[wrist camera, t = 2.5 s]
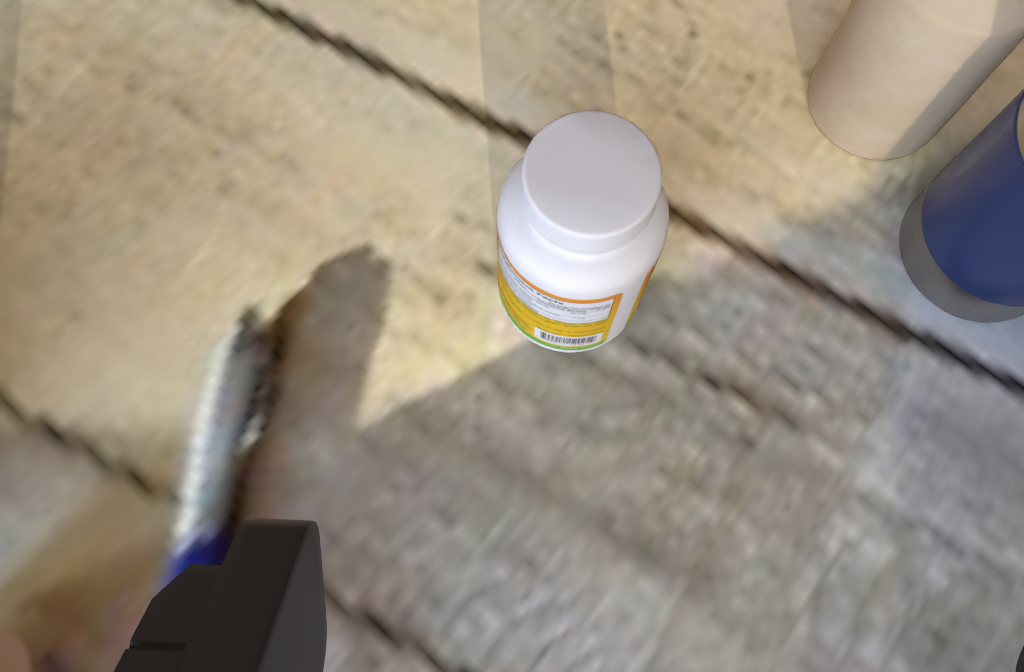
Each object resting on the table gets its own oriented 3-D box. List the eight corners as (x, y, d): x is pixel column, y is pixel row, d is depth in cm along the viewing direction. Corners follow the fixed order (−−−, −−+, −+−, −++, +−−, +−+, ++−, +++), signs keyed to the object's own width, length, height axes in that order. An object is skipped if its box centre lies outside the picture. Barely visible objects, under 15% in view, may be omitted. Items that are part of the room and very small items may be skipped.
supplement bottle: (580, 197, 36) (608, 53, 27) (667, 301, 35) (727, 189, 25) (470, 273, 35) (458, 152, 26) (555, 383, 34) (575, 297, 24)
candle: (897, 187, 36) (1039, 35, 27) (780, 112, 37) (876, -60, 27) (965, 90, 37) (1124, -88, 28) (850, 20, 38) (965, -176, 29)
